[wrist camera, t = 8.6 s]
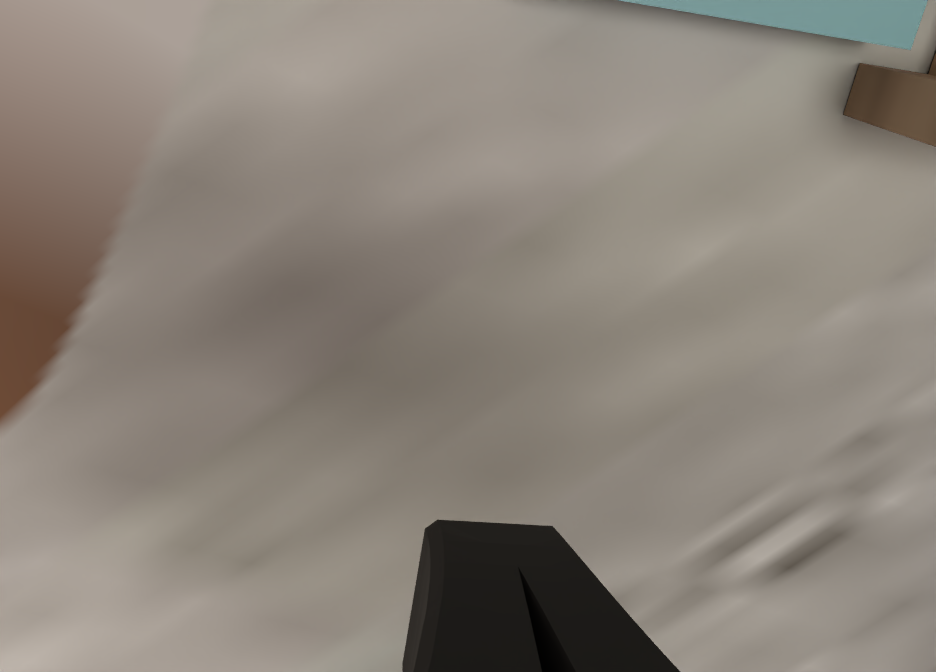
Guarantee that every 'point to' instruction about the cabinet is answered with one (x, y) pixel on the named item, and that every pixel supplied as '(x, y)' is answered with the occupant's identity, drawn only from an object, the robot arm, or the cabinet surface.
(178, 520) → the cabinet surface
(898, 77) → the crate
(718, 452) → the cabinet surface
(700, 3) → the panel
